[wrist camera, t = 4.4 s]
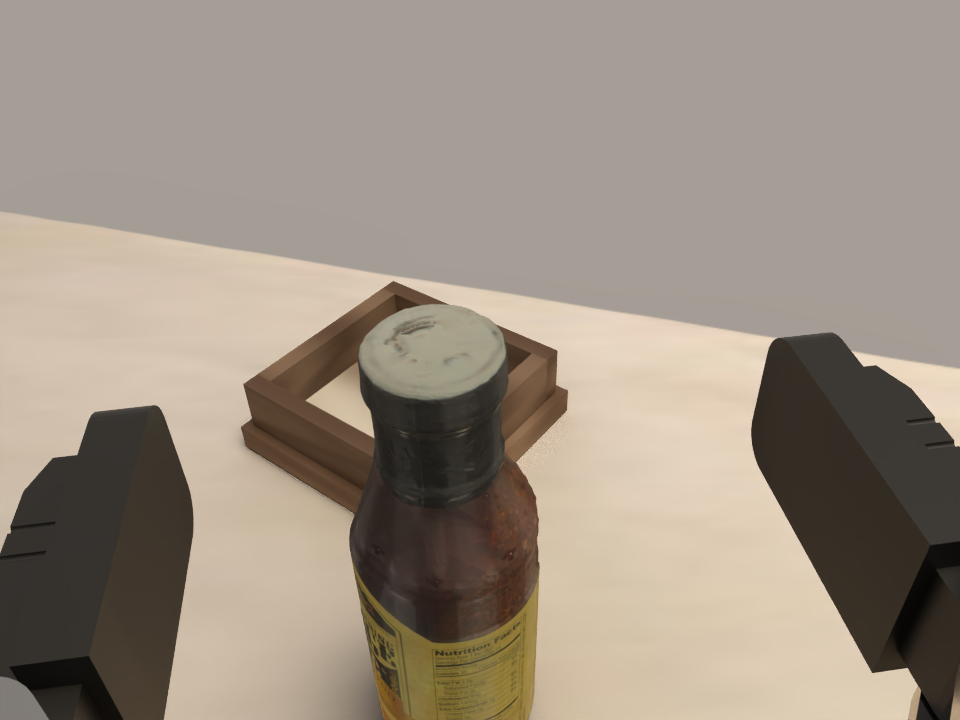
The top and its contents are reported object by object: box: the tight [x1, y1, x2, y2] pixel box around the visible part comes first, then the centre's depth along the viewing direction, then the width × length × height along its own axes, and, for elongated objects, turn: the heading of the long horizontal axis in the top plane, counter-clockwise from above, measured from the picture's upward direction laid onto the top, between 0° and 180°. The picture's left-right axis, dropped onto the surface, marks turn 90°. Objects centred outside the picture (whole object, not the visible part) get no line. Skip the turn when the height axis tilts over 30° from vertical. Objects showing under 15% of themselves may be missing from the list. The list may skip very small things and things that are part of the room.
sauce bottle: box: [349, 304, 540, 720], centre depth 29 cm, size 7×6×20 cm
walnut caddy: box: [241, 281, 568, 513], centre depth 48 cm, size 13×13×4 cm
